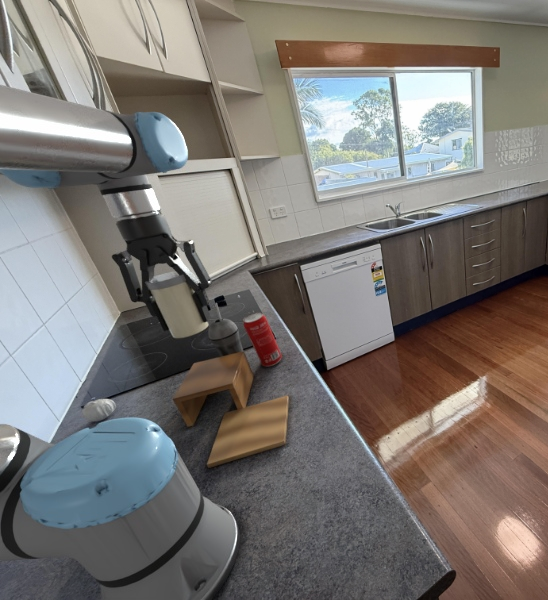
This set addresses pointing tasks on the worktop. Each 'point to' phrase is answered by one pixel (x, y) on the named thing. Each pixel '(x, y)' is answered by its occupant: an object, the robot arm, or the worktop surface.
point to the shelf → (214, 384)
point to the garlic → (98, 409)
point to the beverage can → (262, 339)
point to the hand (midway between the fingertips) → (188, 323)
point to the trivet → (250, 431)
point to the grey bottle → (224, 336)
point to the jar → (176, 304)
